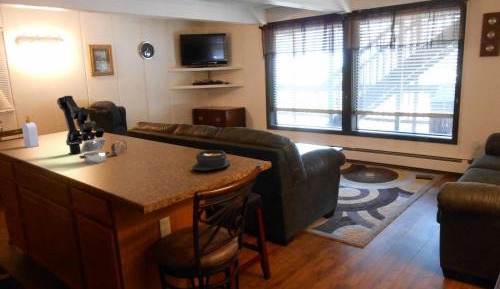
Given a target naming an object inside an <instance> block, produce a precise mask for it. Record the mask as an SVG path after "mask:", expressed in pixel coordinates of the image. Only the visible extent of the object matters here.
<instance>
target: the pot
mask: <svg viewBox="0 0 500 289" xmlns="http://www.w3.org/2000/svg"><path fill="white" fill-rule="evenodd" d="M107 155H110V151H108V150H107V151H91V152H85V153H83V155H79V159H84V164H86V165H97V164H98V165H99V164H102V163H103V164H104V163H105V162H107V157H106V156H107Z"/></svg>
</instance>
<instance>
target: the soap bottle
mask: <svg viewBox="0 0 500 289" xmlns="http://www.w3.org/2000/svg"><path fill="white" fill-rule="evenodd" d="M31 117H34V115H31ZM25 118H26V119H25V122H24V123H22V126H21V129H22V136H23V143H24V147H26V148H35V147H39V146H40V143H39V136H38V128H37V125H36V123H34V122H32V119H30V115H26V116H25Z"/></svg>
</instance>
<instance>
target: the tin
mask: <svg viewBox="0 0 500 289" xmlns="http://www.w3.org/2000/svg"><path fill="white" fill-rule="evenodd" d="M110 147H111V148H110V149H111V153H112V155H113V156H120V155H122V154H125V153H126V152H127V149H128V146H127V142H126V141H125V140H123V139H122V140H117V141H114V142H113V143H112V144H111V146H110Z"/></svg>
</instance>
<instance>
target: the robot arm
mask: <svg viewBox="0 0 500 289" xmlns="http://www.w3.org/2000/svg"><path fill="white" fill-rule="evenodd" d="M56 104H57V106H58V108H59V109H60V110H61V111H62V112H63V115H64V119H65V123H66V126H67V130H68V133H67V135H66V136H67V137H66V140H65V143H66V146H69V152H68V155H79V154H82V153H81V152H80V151H81V146H80V145H81V144H82V145H83V142H85V141H87V140H92V139H93V138H95V139H101V138H103V137H104V134H105V130H104V129H103V128H96V129H95V131H93V130H94V129H93V128H95V127H96V126H97V123H96V122H95V120H92V121H89V122H88V120H89V117H90V113H91V110H89V109H88V108H86V107H85V106H83V107H79V106H78V104H77V103H76V101H75V99H74V97H73V95H64V96H61V97H59V98H57V99H56ZM75 120H76V124H75ZM76 126H77V127H78V129H77V127H76Z"/></svg>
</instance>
